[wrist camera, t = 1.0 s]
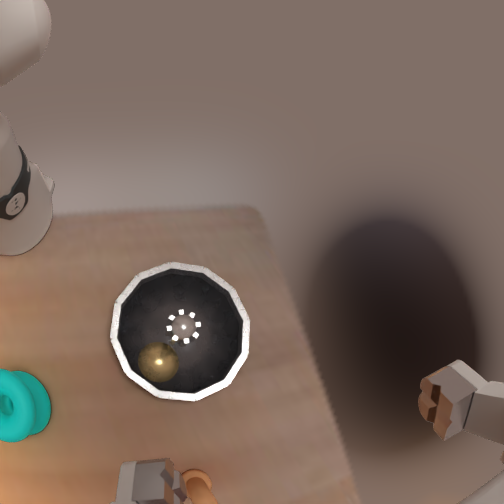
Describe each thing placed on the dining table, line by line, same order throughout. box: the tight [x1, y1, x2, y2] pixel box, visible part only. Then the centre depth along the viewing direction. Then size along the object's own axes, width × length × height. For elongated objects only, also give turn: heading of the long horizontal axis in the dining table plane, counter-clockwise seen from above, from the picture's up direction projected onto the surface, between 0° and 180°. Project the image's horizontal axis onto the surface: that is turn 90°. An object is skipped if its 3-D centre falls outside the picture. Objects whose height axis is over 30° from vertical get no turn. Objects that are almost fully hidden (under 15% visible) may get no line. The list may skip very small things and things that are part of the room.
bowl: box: [110, 262, 250, 401], centre depth 45 cm, size 20×20×8 cm
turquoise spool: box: [0, 369, 51, 442], centre depth 31 cm, size 10×10×10 cm
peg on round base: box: [182, 469, 218, 504], centre depth 35 cm, size 5×5×10 cm
